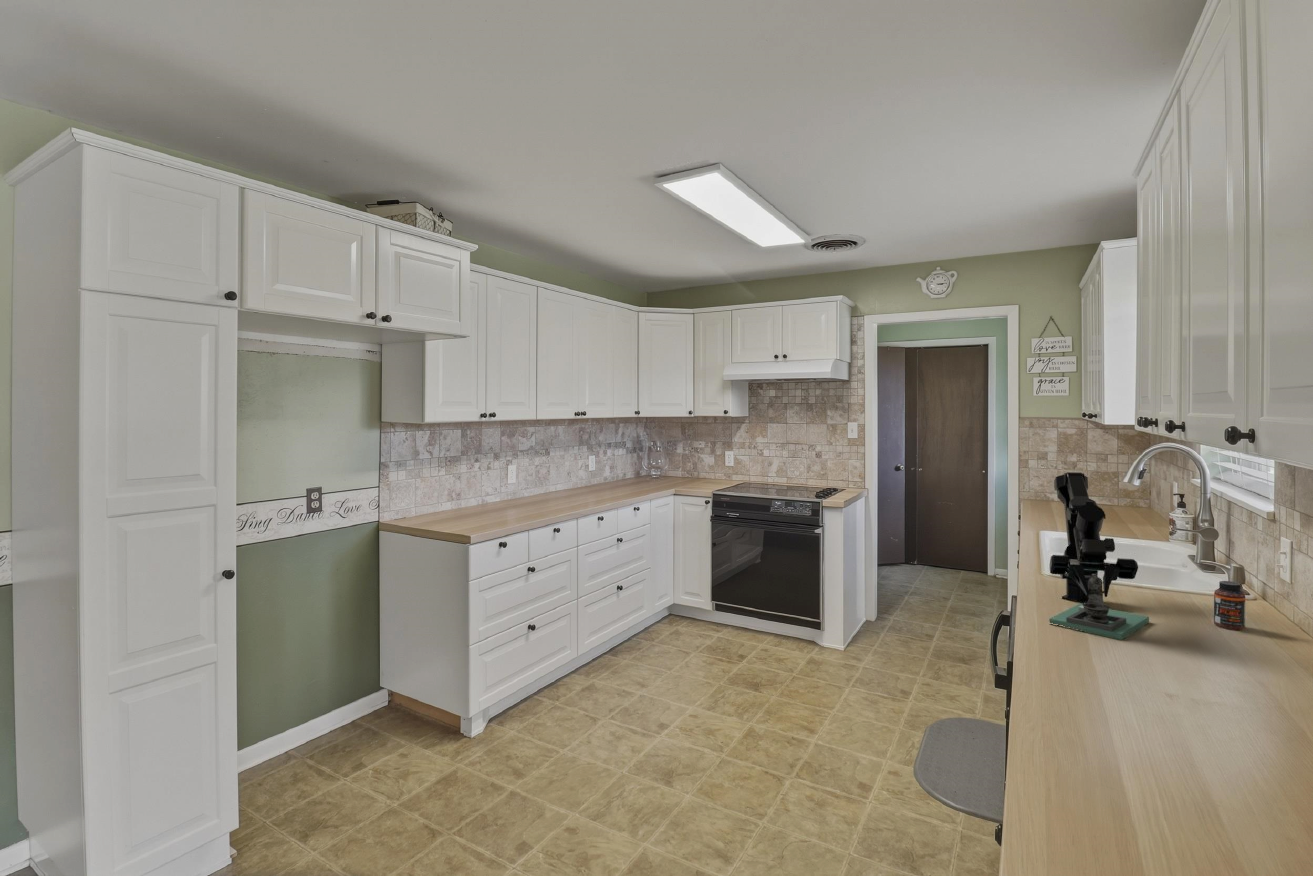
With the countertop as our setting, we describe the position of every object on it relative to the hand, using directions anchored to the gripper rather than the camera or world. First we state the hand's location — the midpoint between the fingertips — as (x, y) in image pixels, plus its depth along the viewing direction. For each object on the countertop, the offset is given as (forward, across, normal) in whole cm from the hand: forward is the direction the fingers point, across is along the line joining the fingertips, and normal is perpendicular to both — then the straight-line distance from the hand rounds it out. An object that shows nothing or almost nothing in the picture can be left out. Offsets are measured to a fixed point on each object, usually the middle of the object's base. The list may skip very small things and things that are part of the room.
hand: (1096, 595), depth 163 cm
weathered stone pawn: (+4, 0, +6) cm, 7 cm away
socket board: (+2, +2, +10) cm, 11 cm away
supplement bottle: (-3, +30, +16) cm, 34 cm away
